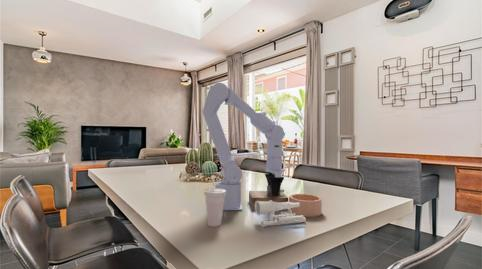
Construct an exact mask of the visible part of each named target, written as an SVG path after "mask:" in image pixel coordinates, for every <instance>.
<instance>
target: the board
mask: <svg viewBox="0 0 482 269" xmlns="http://www.w3.org/2000/svg"><path fill="white" fill-rule="evenodd" d="M269 200H272V201H273V202H289V196H287V195H286V194H285V192H280V196H268V195H267V190H248V203H249V205H250V207H251V208H250V209H251V210H255V202H256V201H259V202H261V201H269Z"/></svg>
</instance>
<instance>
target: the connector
mask: <svg viewBox="0 0 482 269" xmlns="http://www.w3.org/2000/svg"><path fill="white" fill-rule="evenodd" d="M266 191H267V195H268V196H272V193H271V185H268V184H267V185H266ZM280 192H283V193H285V189H284V188H280V190H279V194H278V196H280Z"/></svg>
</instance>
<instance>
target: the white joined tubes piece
mask: <svg viewBox="0 0 482 269" xmlns="http://www.w3.org/2000/svg"><path fill="white" fill-rule="evenodd" d="M299 206H300V204H299V202H297V203H291V202H289V201H288V202H273V201H272V200H269V201H261V202H259V201H256V202H255V209H254V210H255V211H254V212H255V213H256V215H257V216H260V215H263V214H264V215H265V214H269V216H268V217H269V220H267V221H266V220H265V221H263V220H262V221H260V225H261V227H262V228H265V227H274V226H276V227H278V226H281V225H289V224H290V225H291V224H292V225H293V224H294V225H296V224H300V223H306V222H307V219H306V218H307V217H304V216H303V215H301V216H298V215H296V214H295V213H293V214H292V211H291V208H293V207H299ZM283 210H284V211H285V210H288V212H289V213H284V212H283ZM279 211H280V214H276V213H275V212H279Z"/></svg>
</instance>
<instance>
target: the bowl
mask: <svg viewBox="0 0 482 269" xmlns="http://www.w3.org/2000/svg"><path fill="white" fill-rule="evenodd" d="M288 202H291V203H297V202H299V204H300V206H299V207H293V208H291V211H292V214H293V213H295V214H296V215H295V216H301V215H303V216H304V217H305V218H315V217H319V216H321V215H322V212H323V198H322V197H320V196H319V195H314V194H308V193H293V194H290V195H289V196H288Z"/></svg>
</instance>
